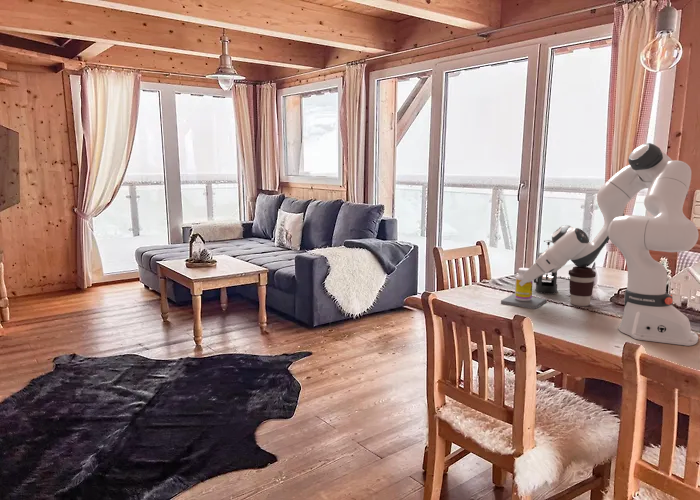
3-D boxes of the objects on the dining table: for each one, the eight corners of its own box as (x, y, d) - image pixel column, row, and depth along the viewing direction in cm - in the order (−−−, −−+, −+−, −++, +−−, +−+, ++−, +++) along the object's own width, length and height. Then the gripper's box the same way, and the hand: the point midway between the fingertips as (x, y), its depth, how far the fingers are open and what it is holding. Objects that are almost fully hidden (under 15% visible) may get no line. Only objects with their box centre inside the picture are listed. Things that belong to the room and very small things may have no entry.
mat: (546, 301, 206) (546, 298, 206) (535, 309, 196) (535, 306, 196) (512, 296, 215) (513, 293, 215) (500, 303, 205) (501, 300, 205)
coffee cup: (577, 308, 196) (579, 271, 194) (561, 301, 206) (563, 266, 203) (599, 306, 198) (601, 269, 196) (582, 299, 208) (585, 264, 205)
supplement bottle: (532, 301, 202) (534, 271, 200) (515, 301, 203) (517, 270, 201) (530, 297, 209) (531, 267, 206) (513, 296, 210) (515, 266, 207)
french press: (563, 292, 221) (566, 240, 217) (549, 295, 216) (552, 242, 212) (541, 287, 231) (543, 237, 227) (527, 289, 226) (529, 239, 222)
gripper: (553, 251, 205) (528, 271, 213) (536, 258, 189) (510, 280, 197) (564, 263, 203) (538, 283, 211) (548, 271, 187) (521, 293, 195)
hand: (524, 282), depth 204 cm, fingers open, 8 cm apart
